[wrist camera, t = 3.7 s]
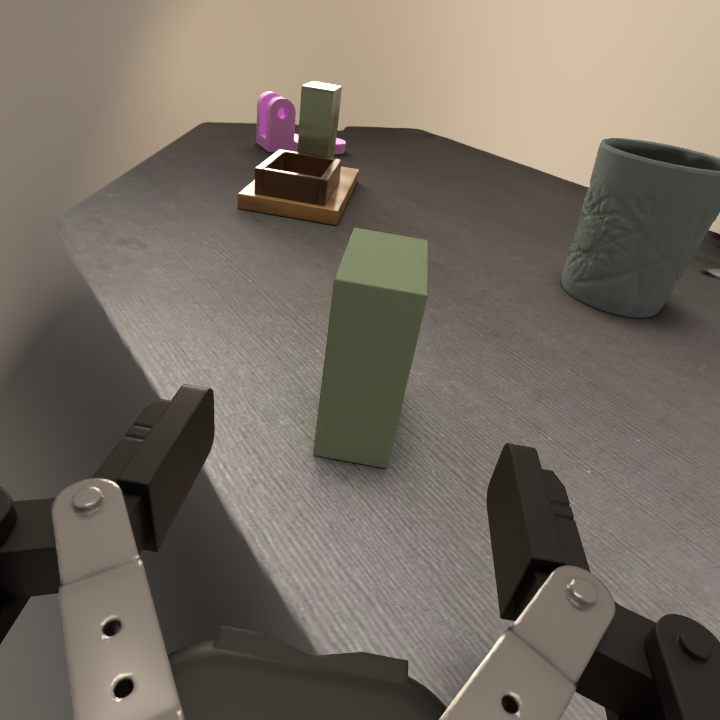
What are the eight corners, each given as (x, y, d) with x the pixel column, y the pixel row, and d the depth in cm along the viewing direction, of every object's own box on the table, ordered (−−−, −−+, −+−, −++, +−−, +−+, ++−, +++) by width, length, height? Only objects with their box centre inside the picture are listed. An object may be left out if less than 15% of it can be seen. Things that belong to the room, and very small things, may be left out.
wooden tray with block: (336, 225, 50) (350, 109, 45) (237, 208, 51) (238, 90, 45) (357, 181, 65) (369, 90, 60) (281, 168, 66) (285, 76, 60)
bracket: (268, 151, 72) (270, 97, 68) (256, 142, 76) (257, 90, 72) (350, 154, 78) (356, 104, 74) (335, 145, 82) (340, 97, 78)
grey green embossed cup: (676, 298, 47) (749, 162, 40) (659, 337, 39) (744, 178, 33) (567, 261, 51) (617, 133, 44) (534, 290, 44) (587, 141, 37)
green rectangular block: (386, 469, 24) (428, 295, 19) (312, 455, 24) (334, 278, 19) (394, 392, 29) (428, 239, 24) (332, 381, 29) (354, 227, 24)
